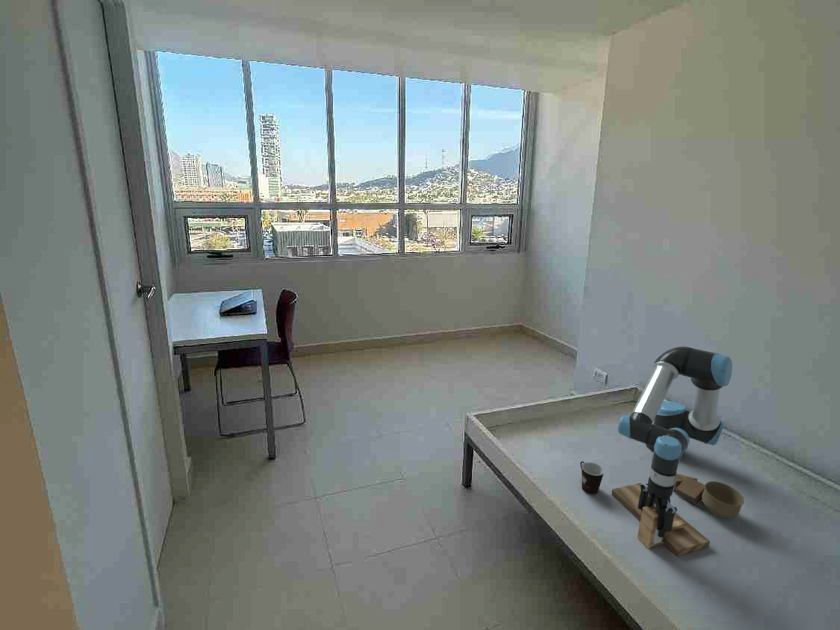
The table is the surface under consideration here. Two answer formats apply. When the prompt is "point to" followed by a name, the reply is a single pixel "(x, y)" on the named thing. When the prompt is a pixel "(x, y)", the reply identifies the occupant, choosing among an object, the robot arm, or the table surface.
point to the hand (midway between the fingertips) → (650, 536)
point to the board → (674, 540)
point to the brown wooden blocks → (689, 488)
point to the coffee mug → (591, 477)
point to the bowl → (722, 499)
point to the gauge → (652, 526)
